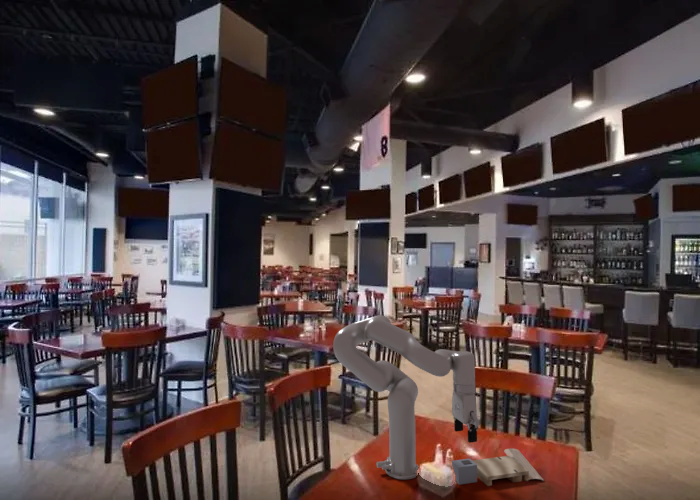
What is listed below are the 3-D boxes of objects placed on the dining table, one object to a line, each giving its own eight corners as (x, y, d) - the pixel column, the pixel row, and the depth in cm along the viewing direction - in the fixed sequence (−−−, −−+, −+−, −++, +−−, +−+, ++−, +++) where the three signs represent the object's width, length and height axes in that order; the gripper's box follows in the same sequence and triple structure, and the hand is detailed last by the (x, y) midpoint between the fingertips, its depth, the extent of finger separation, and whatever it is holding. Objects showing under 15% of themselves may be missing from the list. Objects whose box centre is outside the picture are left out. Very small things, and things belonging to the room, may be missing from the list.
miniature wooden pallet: (487, 486, 153) (487, 476, 153) (470, 469, 164) (470, 460, 164) (528, 480, 156) (528, 470, 156) (508, 464, 168) (508, 455, 168)
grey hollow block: (458, 484, 154) (458, 466, 154) (452, 477, 159) (452, 460, 159) (477, 482, 156) (477, 464, 156) (470, 475, 160) (469, 457, 160)
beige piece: (544, 483, 156) (544, 478, 156) (523, 483, 156) (523, 478, 156) (518, 452, 179) (518, 448, 179) (500, 453, 179) (500, 448, 179)
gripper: (443, 381, 165) (444, 428, 165) (466, 396, 148) (468, 448, 148) (462, 379, 166) (463, 425, 166) (487, 393, 150) (488, 445, 150)
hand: (465, 436), depth 157 cm, fingers open, 9 cm apart
